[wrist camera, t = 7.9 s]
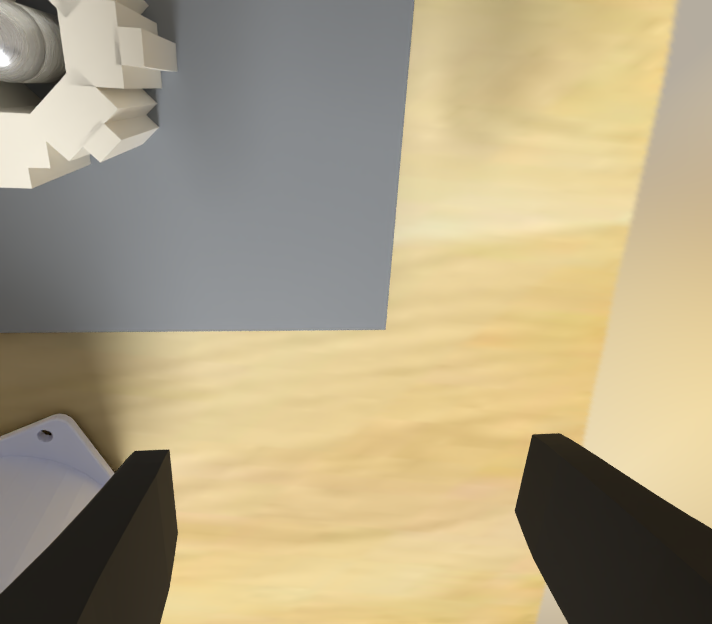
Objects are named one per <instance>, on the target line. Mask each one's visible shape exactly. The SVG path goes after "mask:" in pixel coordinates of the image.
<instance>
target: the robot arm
mask: <svg viewBox="0 0 712 624" xmlns="http://www.w3.org/2000/svg"><path fill="white" fill-rule="evenodd" d="M42 430H47V431H50V432H51V433H52V435H46V434H45V433H43V432H42ZM515 513H516V516H517V518H518V521H519V524H520V526H521V529H522V532H523V534H524V537H525V540H526V542H527V544H528V547H529V549H530V552H531V554H532V557H533V559H534V561H535V563H536V565H537V567H538V568H539V570H540V572H541V574H542V576H543V578H544V580H545V582H546V583H547V585H548V587H549V589H550V591H551V593H552V594H553V596H554V598H555V600H556V602H557V604H558V606H559V607H560V609H561V611H562V613H563V615H564V616H565V618H566V620H567V622H568V624H712V529H711V528H710V527H708V526H706V525H705V524H703V523H701V522H700V521H698V520H696V519H695V518H693V517H691V516H689V515H688V514H686V513H685V512H683V511H681V510H680V509H678V508H676V507H675V506H673V505H672V504H670V503H668V502H667V501H665V500H664V499H662V498H660V497H659V496H657V495H656V494H654V493H653V492H651V491H650V490H648V489H647V488H645V487H643V486H642V485H640V484H639V483H637V482H636V481H634V480H633V479H631V478H630V477H628V476H626V475H625V474H623V473H622V472H620V471H619V470H617V469H616V468H614V467H613V466H611V465H610V464H608V463H607V462H605V461H604V460H602V459H600V458H599V457H598V456H596V455H594V454H593V453H591V452H590V451H588V450H587V449H585V448H584V447H582V446H580V445H579V444H577V443H576V442H574V441H572V440H571V439H569V438H567V437H565V436H564V435H562V434H560V433H558V434H534V435H532V438H531V443H530V447H529V451H528V456H527V460H526V464H525V469H524V473H523V477H522V482H521V486H520V490H519V495H518V499H517V503H516V508H515ZM177 535H178V530H177V520H176V510H175V501H174V491H173V481H172V471H171V461H170V451H169V450H148V451H134V452H133V453H132V454H131V455H130V456H129V457H128V458H127V459H126V461H125V462H124V463H123V464H122V465H121V466H120V468H119V469H118V470H117V471H116V472H115V473H114V472H113V470H112V469H111V468H110V467H109V465H108V464H107V463H106V461H105V460H104V459H103V457H102V456H101V455H100V454H99V452H98V451H97V450H96V448H95V447H94V446H93V444H92V443H91V442H90V441H89V439H88V438H87V437H86V435H85V434H84V433H83V431H82V430H81V429H80V427H79V426H78V425H77V424H76V422H75V421H74V420H73V419H72V418H71V417H70V416H67V415H65V414H55V415H52V416H49V417H47V418H44V419H42V420H39V421H37V422H34V423H32V424H30V425H27V426H25V427H22V428H20V429H17V430H15V431H12V432H10V433H7V434H5V435H3V436H0V624H160V622H161V618H162V614H163V611H164V607H165V603H166V599H167V595H168V591H169V587H170V581H171V575H172V569H173V562H174V556H175V549H176V542H177Z"/></svg>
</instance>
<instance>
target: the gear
mask: <svg viewBox="0 0 712 624" xmlns="http://www.w3.org/2000/svg"><path fill="white" fill-rule="evenodd" d="M9 1H12V2H15V1H16V0H9ZM49 1H50V2H51V3H52V4H53V5H54V6H55V7H56V8H57V13H58V20H59V27H60V34H61V41H62V48H63V55H64V62H65V69H66V74H65V75H64V76H63V78H62V79H61V80H60V81H59V82H58V83H57V84H56V85H55V87H54V88H53V89H52V90H51V91H50V92H49V93H48V94H47V96H46V97H45V98H44V99H43V100H41V99H40V98H39V97H38V96H37V95H36V94H35V93H34V92H32V91H31V90H30V89H29V88H28V87H27V86H26V85H25V84H24V83H10V82H4V81H0V188H29V189H32V188H35V187H37V186H39V185H42V184H44V183H47V182H49V181H51V180H54V179H56V178H59V177H61V176H63V175H66V174H68V173H71V172H73V171H75V170H78V169H80V168H83V167H85V166H88V165H90V164H91V161H90V154H91V155H92V156H93V157H95V158H96V159H97V160H98V161H99V162H103V161H105V160H107V159H110V158H112V157H114V156H117V155H119V154H121V153H124V152H126V151H128V150H131V149H133V148H135V147H138V146H140V145H142V144H144V142H145V141H146V140H147V139H148V138H149V137H150V136H151V135H152V134H153V133H154V132H155V131H156V130H157V129H158V128H159V127H158V126H157V125H156V124H155V123H154V122H153V121H152V120H151V119H150V118H149V117H148V116H147V114H148V113H149V111H150V110H151V109H152V108H153V107H154V106H155V105H156V104H157V103H156V102H155V101H154V100H153V99H152V98H151V97H150V96H149V95H148V94H147V93H146V92H145V91H144V90H143V89H142V88H162V82H161V71H174V72H178V71H177V57H176V43H173V42H171V41H169V40H166V39H164V38H162V37H160V36H158V31H157V23H155V22H153V21H151V20H150V19H148V18H146V17H144V16H142V15H141V14H142V13H143V12H144V10H145V9H146V8H147V7H148V6H149V5H148V4H147V3H146V2H145V1H144V0H49Z"/></svg>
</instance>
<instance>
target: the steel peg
mask: <svg viewBox="0 0 712 624" xmlns="http://www.w3.org/2000/svg"><path fill="white" fill-rule="evenodd" d="M65 74H66V69H65V62H64V55H63V48H62V41H61V34H60V27H59V20H58V16H55V15H52V14H49V13H46V12H43V11H40V10H37V9H34V8H31V7H28V6H25V5H22V4H19V3H16V2H12V1H9V0H0V81H4V82H10V83H50V84H57V83H58V82H59V81H60V80H61V79H62V78H63V76H64V75H65Z"/></svg>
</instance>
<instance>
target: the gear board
mask: <svg viewBox="0 0 712 624" xmlns="http://www.w3.org/2000/svg"><path fill="white" fill-rule="evenodd" d="M144 1H145V2H146V3H147V4H148V5H149V6H148V7H147V8H146V9H145V10H144V12H143V13H142V14H141V15H142V16H144V17H146V18H148V19H150V20H151V21H153V22H155V23H157V31H158V36H160V37H162V38H164V39H166V40H169V41H171V42H173V43H176V57H177V71H178V72H174V71H161V82H162V88H142V89H143V90H144V91H145V92H146V93H147V94H148V95H149V96H150V97H151V98H152V99H153V100H154V101H155V102H156V103H157V104H156V105H155V106H154V107H153V108H152V109H151V110H150V111H149V113H148V114H147V116H148V117H149V118H150V119H151V120H152V121H153V122H154V123H155V124H156V125H157V126H158V127H159V128H158V129H157V130H156V131H155V132H154V133H153V134H152V135H151V136H150V137H149V138H148V139H147V140H146V141H145V142H144V144H142V145H140V146H138V147H135V148H133V149H131V150H128V151H126V152H124V153H121V154H119V155H117V156H114V157H112V158H110V159H107V160H105V161H103V162H99V161H98V160H97V159H96V158H95V157H93V156H92V155H91V154H90V161H91V164H90V165H88V166H85V167H83V168H80V169H78V170H75V171H73V172H71V173H68V174H66V175H63V176H61V177H59V178H56V179H54V180H51V181H49V182H47V183H44V184H42V185H39V186H37V187H35V188H32V189H29V188H0V333H43V332H167V331H291V330H385V329H386V318H387V306H388V295H389V283H390V272H391V261H392V249H393V238H394V227H395V215H396V204H397V193H398V181H399V170H400V159H401V147H402V136H403V125H404V113H405V102H406V91H407V79H408V68H409V56H410V45H411V34H412V22H413V11H414V0H144ZM15 2H16V3H19V4H22V5H25V6H28V7H31V8H34V9H37V10H40V11H43V12H46V13H49V14H52V15H55V16H58V13H57V8H56V7H55V6H54V5H53V4H52V3H51V2H50V1H49V0H16V1H15ZM24 84H25V85H26V86H27V87H28V88H29V89H30V90H31V91H32V92H34V93H35V94H36V95H37V96H38V97H39V98H40V99H41V100H43V99H44V98H45V97H46V96H47V94H48V93H49V92H50V91H51V90H52V89H53V88H54V87H55V85H56V84H50V83H24Z"/></svg>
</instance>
